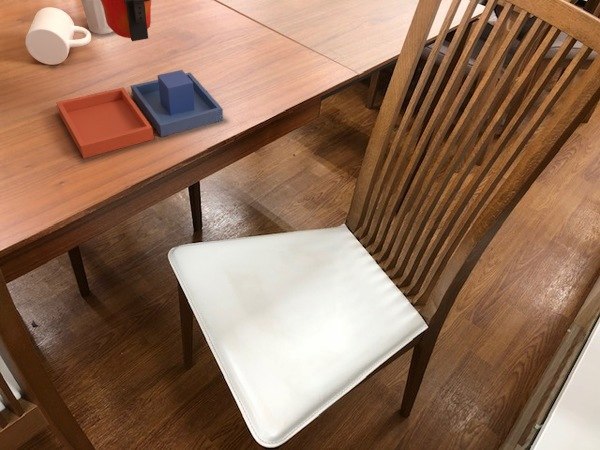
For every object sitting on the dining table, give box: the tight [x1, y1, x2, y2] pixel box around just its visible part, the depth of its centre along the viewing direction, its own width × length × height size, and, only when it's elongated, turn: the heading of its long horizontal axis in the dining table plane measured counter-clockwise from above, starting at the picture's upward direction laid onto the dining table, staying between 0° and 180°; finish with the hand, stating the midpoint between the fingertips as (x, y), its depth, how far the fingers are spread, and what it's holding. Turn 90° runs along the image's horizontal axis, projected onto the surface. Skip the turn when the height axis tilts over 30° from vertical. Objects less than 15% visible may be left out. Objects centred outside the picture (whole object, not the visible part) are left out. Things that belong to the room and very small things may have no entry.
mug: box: [24, 6, 92, 66], centre depth 107 cm, size 12×10×8 cm
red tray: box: [56, 87, 155, 159], centre depth 93 cm, size 15×13×3 cm
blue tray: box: [130, 72, 224, 138], centre depth 99 cm, size 15×13×3 cm
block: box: [156, 69, 195, 115], centre depth 97 cm, size 5×5×6 cm
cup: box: [80, 0, 114, 35], centre depth 115 cm, size 8×8×12 cm
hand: (129, 26), depth 86 cm, fingers closed on apple, 9 cm apart
